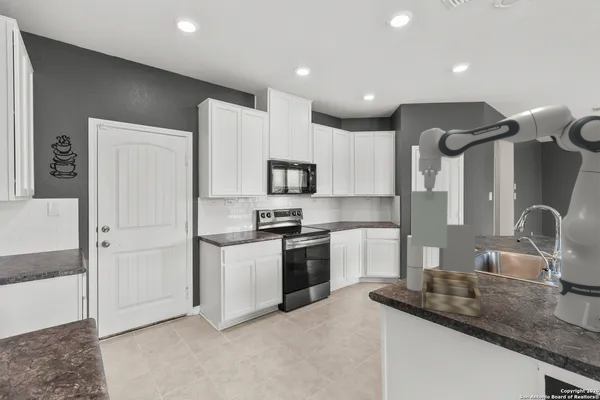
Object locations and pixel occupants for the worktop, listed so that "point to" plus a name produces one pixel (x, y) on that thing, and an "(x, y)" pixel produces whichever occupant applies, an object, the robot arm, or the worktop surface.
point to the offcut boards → (450, 284)
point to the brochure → (458, 249)
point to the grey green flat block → (429, 219)
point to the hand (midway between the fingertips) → (429, 199)
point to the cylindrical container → (414, 266)
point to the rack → (451, 302)
